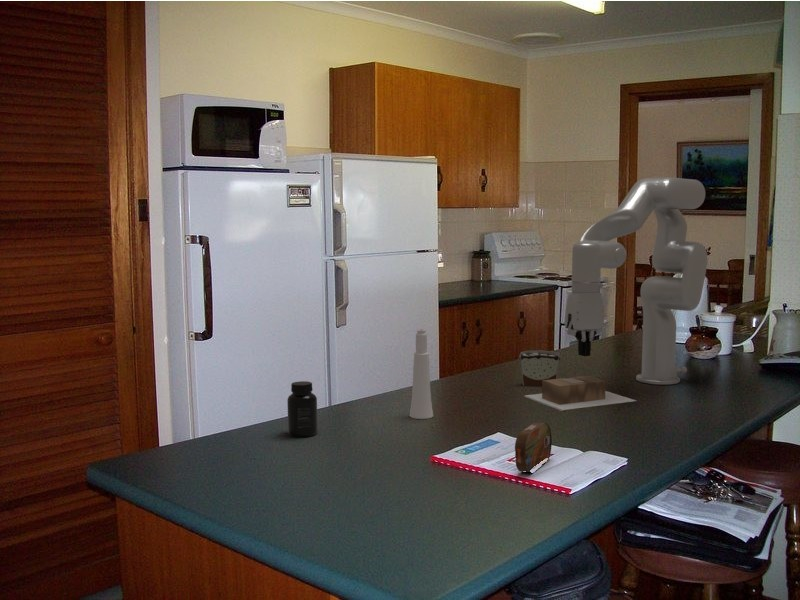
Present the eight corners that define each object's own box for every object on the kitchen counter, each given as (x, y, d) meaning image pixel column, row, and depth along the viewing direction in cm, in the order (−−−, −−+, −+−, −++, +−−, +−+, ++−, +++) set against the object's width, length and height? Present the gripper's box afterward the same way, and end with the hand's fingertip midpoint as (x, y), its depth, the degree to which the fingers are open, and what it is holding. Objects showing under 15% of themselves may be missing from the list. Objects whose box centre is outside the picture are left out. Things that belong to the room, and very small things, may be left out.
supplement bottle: (322, 431, 192) (321, 381, 191) (310, 438, 185) (309, 387, 184) (296, 428, 194) (295, 379, 193) (282, 436, 188) (281, 385, 186)
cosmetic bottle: (404, 416, 205) (404, 329, 203) (420, 411, 210) (420, 327, 207) (422, 420, 201) (422, 332, 199) (438, 415, 206) (438, 329, 203)
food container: (558, 383, 243) (559, 350, 242) (560, 388, 237) (561, 354, 236) (517, 382, 245) (517, 349, 243) (518, 387, 238) (518, 353, 237)
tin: (527, 479, 158) (527, 436, 157) (511, 476, 159) (512, 434, 158) (553, 458, 171) (553, 419, 170) (538, 456, 172) (539, 417, 171)
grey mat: (595, 388, 236) (595, 387, 236) (636, 402, 219) (637, 400, 219) (524, 396, 226) (524, 395, 226) (562, 411, 210) (562, 409, 210)
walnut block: (587, 375, 228) (542, 380, 222) (605, 380, 221) (559, 385, 215) (587, 393, 228) (542, 398, 222) (605, 399, 221) (559, 404, 215)
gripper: (599, 286, 226) (597, 351, 228) (554, 288, 220) (553, 355, 222) (617, 288, 219) (615, 355, 221) (571, 290, 213) (569, 359, 215)
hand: (584, 355), depth 222 cm, fingers closed
